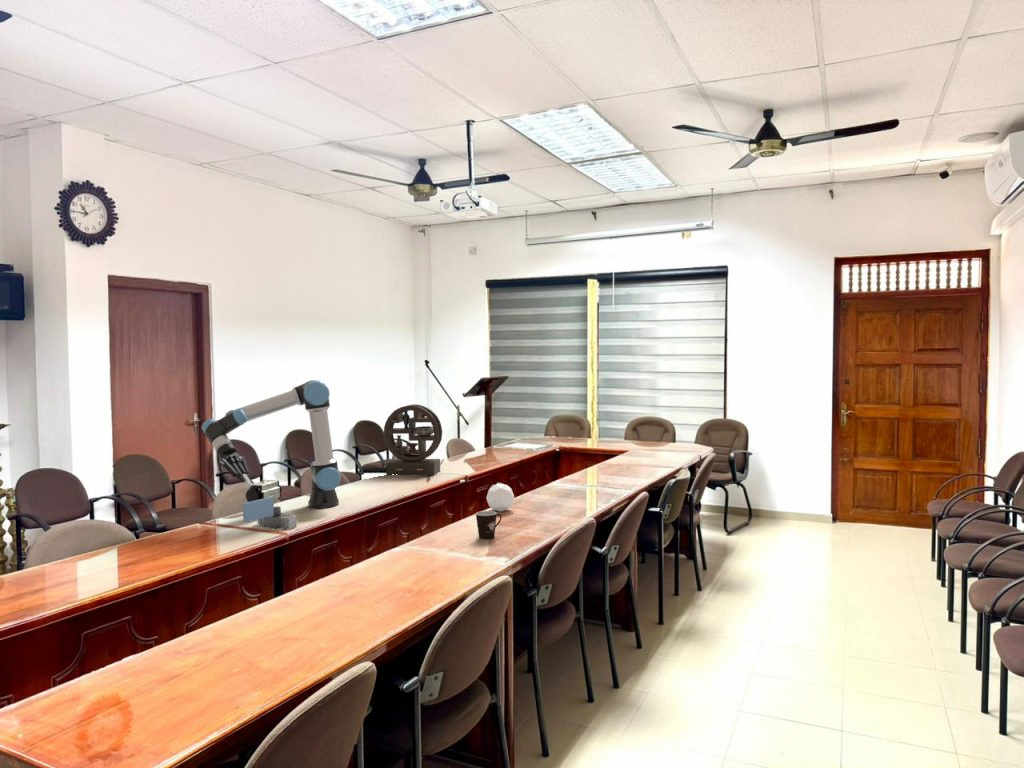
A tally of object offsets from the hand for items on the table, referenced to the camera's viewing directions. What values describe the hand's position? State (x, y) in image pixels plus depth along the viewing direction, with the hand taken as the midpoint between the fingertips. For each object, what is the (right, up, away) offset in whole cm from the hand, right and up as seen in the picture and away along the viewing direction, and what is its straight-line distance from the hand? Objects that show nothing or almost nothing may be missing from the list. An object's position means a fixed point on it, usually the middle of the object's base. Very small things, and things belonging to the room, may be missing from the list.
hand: (249, 486), depth 302 cm
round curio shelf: (+53, -13, +138) cm, 148 cm away
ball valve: (-1, -18, +22) cm, 29 cm away
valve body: (+12, -18, +2) cm, 21 cm away
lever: (+8, -13, -5) cm, 16 cm away
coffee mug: (+109, -17, -24) cm, 112 cm away
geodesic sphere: (+112, -16, +25) cm, 116 cm away
